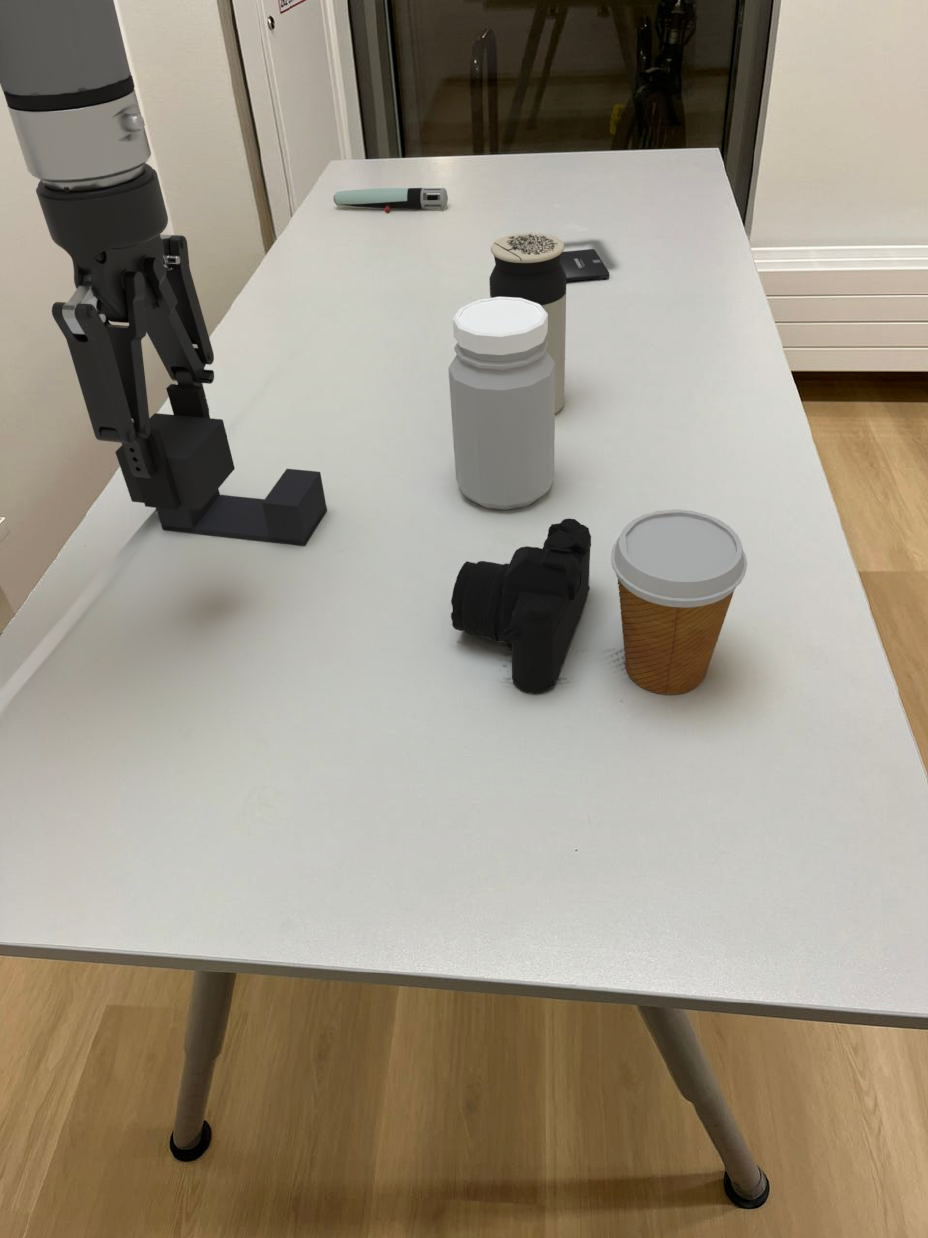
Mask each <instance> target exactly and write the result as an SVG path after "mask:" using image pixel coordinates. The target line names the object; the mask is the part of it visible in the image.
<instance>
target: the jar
mask: <svg viewBox="0 0 928 1238" xmlns="http://www.w3.org/2000/svg"><path fill="white" fill-rule="evenodd" d="M454 314H455V315H454V316H453V317H452V327H453V328H452V329H453V337H454V339H455V341H456V344H455V345H454V349H453V350H454V352H455V354H456V355H455V356H454V358H453V359H452V361H451V363H450V364H449V366H448V383H449V396H450V412H451V413H450V414H451V424H452V425H451V427H452V438H453V439H452V440H453V453H454V454H453V455H454V467H455V468H454V469H455V480H456V483H457V485H458V487H459V489H460V491H461V493H462V494H463V495H464V496H465V497H466V498H467V499H469V500H470V501H472V502H474V503H476V504H478V505H479V506H481V507H483V508H486V509H492V510H493V509H494V510H502V511H509V510H514V509H519V508H525V507H528V506H529V505H532V503H534V502H536V501H537V500H539V499H540V498H542V497H543V496H544V495H545V494H546V493H548V492H549V490H550V488H551V485H552V483H553V480H554V477H555V447H556V446H555V444H556V443H555V439H556V436H555V433H556V432H555V431H556V429H555V428H556V426H555V424H556V422H555V420H556V413H555V362H554V360H553V359H552V358H551V357H550V355H549V354H548V353H547V351H546V349H547V347H548V342H547V341H546V340H545V337H546V335H547V333H548V314H547V312H546V311H545V310H544V309H543V307H542V306H541V305H540V304H538V303H535V302H532V301H529V300H526V299H523V298H514V297H494V298H490V297H489V298H483V299H477V300H474V301H473V302H470V303H468V304H466V305H463V306H462V307H459V308H458V310H457V311H456V313H454Z"/></svg>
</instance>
